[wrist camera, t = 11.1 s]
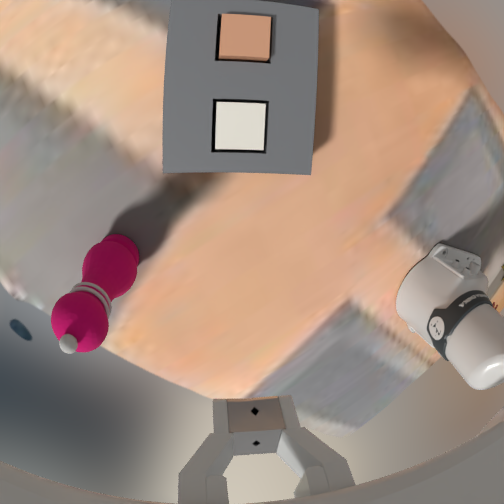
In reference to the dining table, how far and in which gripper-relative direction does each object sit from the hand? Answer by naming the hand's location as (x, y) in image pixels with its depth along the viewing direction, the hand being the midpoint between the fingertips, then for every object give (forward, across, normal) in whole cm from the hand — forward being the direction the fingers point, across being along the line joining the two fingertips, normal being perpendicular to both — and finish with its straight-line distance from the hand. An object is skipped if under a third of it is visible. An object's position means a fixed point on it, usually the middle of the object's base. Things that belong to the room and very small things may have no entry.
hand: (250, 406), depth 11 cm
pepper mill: (+31, -15, -7) cm, 35 cm away
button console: (+30, +1, +15) cm, 34 cm away
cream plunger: (+29, +1, +10) cm, 31 cm away
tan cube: (+28, +1, +20) cm, 35 cm away
